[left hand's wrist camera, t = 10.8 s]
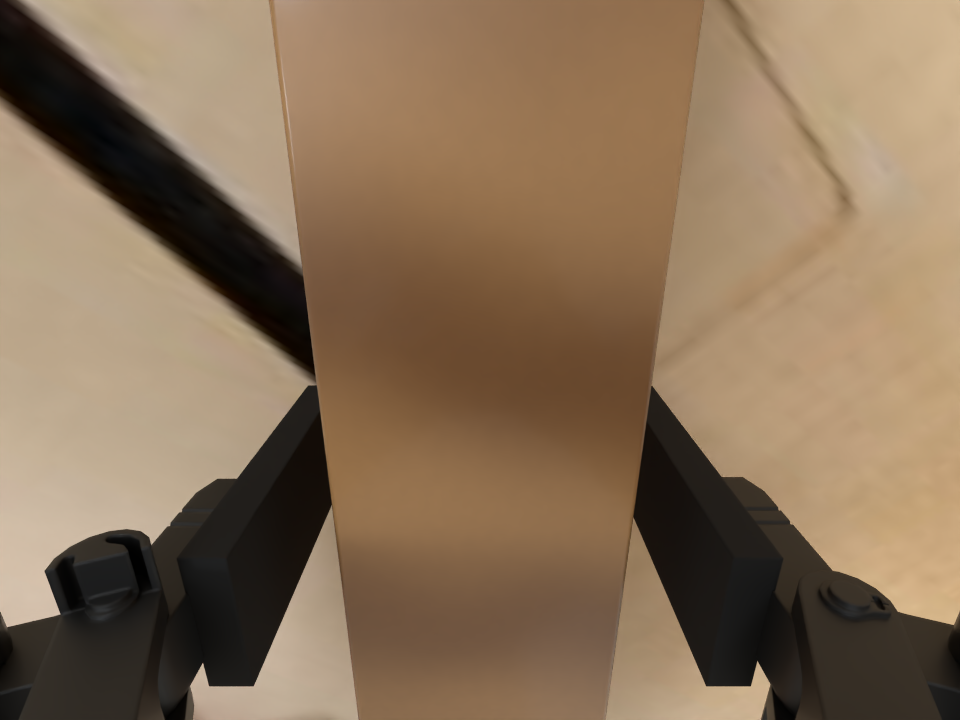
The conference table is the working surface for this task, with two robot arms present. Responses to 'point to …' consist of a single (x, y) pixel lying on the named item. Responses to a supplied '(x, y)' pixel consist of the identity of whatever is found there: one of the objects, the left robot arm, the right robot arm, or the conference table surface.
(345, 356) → the bar
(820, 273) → the conference table surface
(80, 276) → the conference table surface
